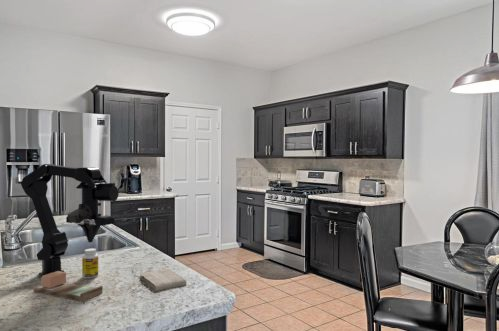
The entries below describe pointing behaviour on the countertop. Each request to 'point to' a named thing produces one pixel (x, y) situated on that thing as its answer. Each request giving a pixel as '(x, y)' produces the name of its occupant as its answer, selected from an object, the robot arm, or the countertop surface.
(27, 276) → the countertop surface
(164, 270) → the washcloth
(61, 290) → the switch base
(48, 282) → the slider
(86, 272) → the supplement bottle
